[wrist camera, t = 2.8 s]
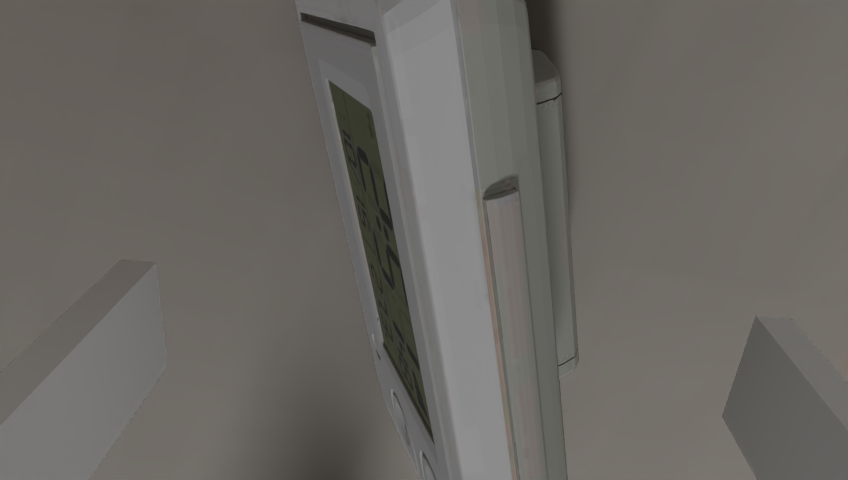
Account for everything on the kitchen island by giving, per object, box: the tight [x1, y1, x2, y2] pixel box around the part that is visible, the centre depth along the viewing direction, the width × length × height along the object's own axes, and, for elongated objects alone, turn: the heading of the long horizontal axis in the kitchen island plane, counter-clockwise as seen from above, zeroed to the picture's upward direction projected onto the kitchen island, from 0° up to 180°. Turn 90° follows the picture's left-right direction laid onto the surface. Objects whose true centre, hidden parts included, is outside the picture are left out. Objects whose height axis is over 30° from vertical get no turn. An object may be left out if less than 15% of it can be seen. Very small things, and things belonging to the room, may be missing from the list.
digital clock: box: [295, 0, 579, 480], centre depth 17 cm, size 16×9×11 cm, turn 177°
